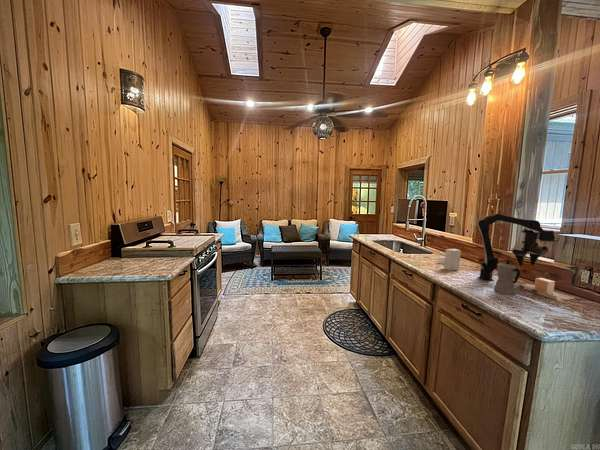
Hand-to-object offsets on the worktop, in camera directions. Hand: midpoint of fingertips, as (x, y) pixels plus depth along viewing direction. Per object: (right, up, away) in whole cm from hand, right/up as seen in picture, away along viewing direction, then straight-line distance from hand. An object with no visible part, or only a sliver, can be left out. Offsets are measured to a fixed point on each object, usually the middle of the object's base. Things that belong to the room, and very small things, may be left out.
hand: (526, 265), depth 163 cm
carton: (-3, -13, -15) cm, 20 cm away
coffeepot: (-24, -13, -15) cm, 31 cm away
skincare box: (-29, -8, +30) cm, 43 cm away
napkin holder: (-24, -6, +47) cm, 53 cm away
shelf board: (-3, -14, -13) cm, 19 cm away
